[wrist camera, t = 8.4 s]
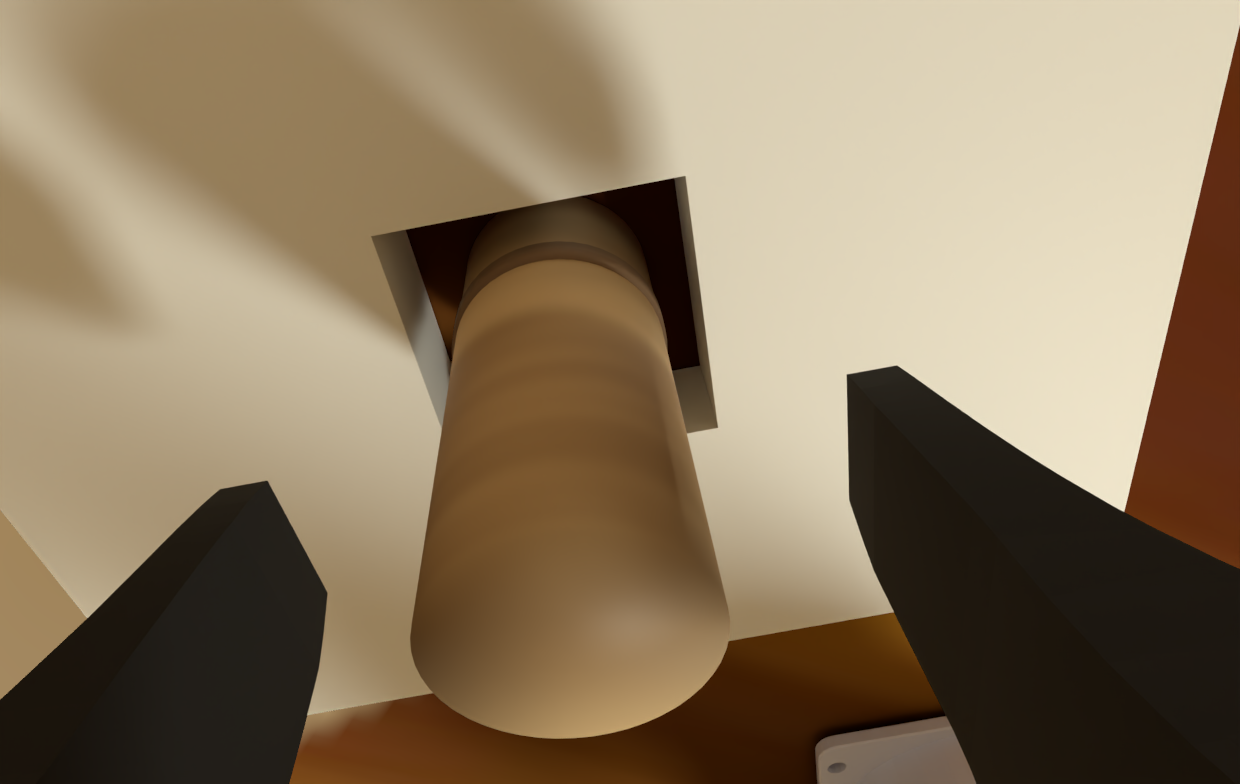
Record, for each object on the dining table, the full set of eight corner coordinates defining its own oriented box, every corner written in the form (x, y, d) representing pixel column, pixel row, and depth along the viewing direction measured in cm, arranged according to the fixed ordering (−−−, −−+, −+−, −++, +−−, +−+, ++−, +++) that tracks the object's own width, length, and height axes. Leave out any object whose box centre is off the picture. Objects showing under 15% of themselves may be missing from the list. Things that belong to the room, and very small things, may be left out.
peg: (666, 334, 16) (757, 704, 9) (498, 376, 16) (470, 766, 10) (626, 168, 14) (702, 487, 7) (435, 219, 14) (348, 571, 8)
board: (1061, 509, 19) (1109, 574, 18) (211, 660, 20) (182, 737, 18) (1232, -452, 10) (1366, -503, 9) (-340, -122, 11) (-498, -110, 9)
